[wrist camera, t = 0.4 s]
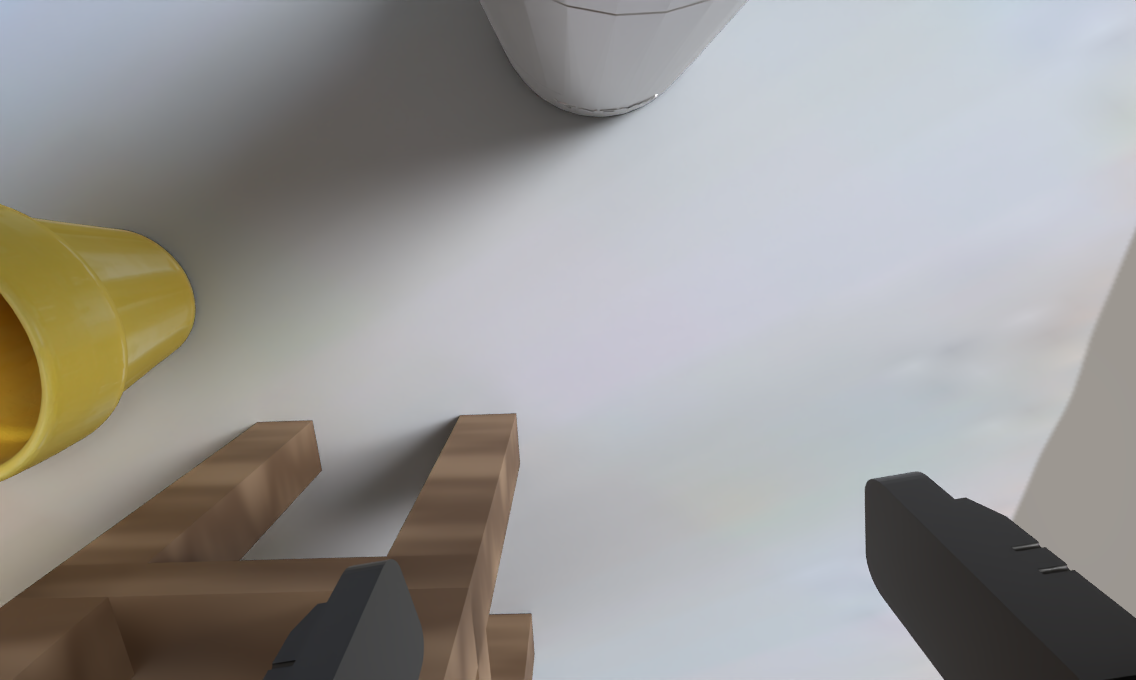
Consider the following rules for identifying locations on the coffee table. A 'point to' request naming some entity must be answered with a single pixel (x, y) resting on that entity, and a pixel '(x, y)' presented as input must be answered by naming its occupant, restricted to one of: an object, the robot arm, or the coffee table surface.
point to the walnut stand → (272, 571)
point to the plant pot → (78, 328)
